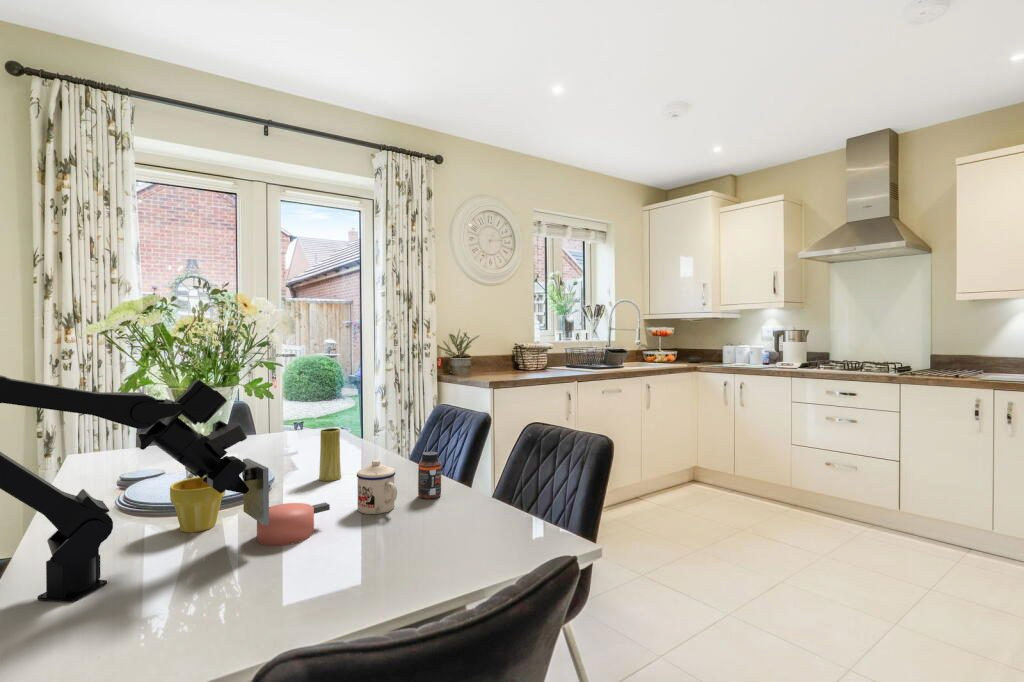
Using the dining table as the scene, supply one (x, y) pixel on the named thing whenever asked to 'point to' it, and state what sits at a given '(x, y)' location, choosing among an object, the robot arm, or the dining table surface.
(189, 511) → the plant pot
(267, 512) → the lid
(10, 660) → the dining table surface
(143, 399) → the robot arm
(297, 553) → the dining table surface
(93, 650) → the dining table surface
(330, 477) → the vase
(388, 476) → the teacup with lid
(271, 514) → the cooker pot
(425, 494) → the supplement bottle
